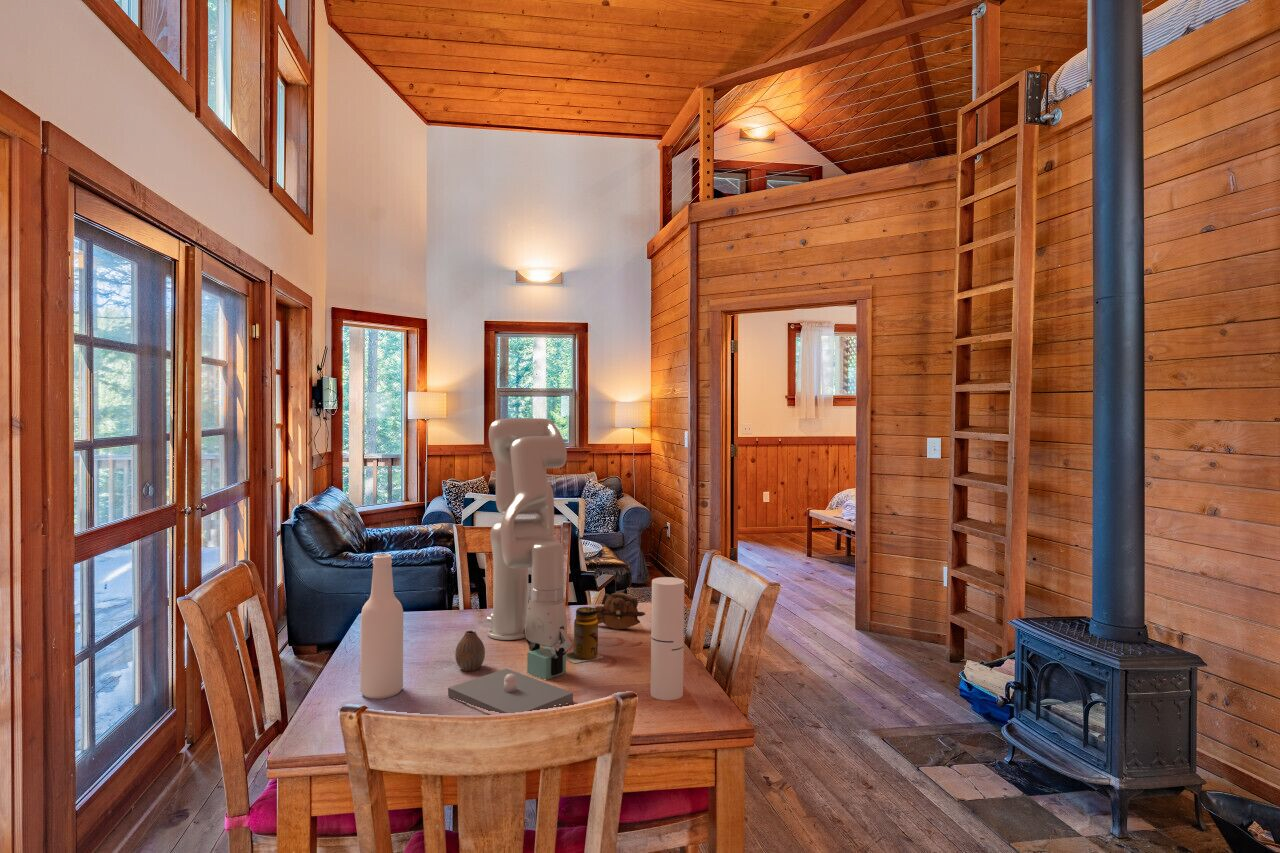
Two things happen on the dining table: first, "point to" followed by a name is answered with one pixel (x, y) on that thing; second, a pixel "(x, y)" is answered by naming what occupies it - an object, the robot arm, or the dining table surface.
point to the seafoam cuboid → (542, 663)
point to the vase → (470, 652)
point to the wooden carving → (618, 611)
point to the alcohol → (381, 635)
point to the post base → (510, 693)
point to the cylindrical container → (667, 638)
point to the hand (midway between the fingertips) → (546, 669)
